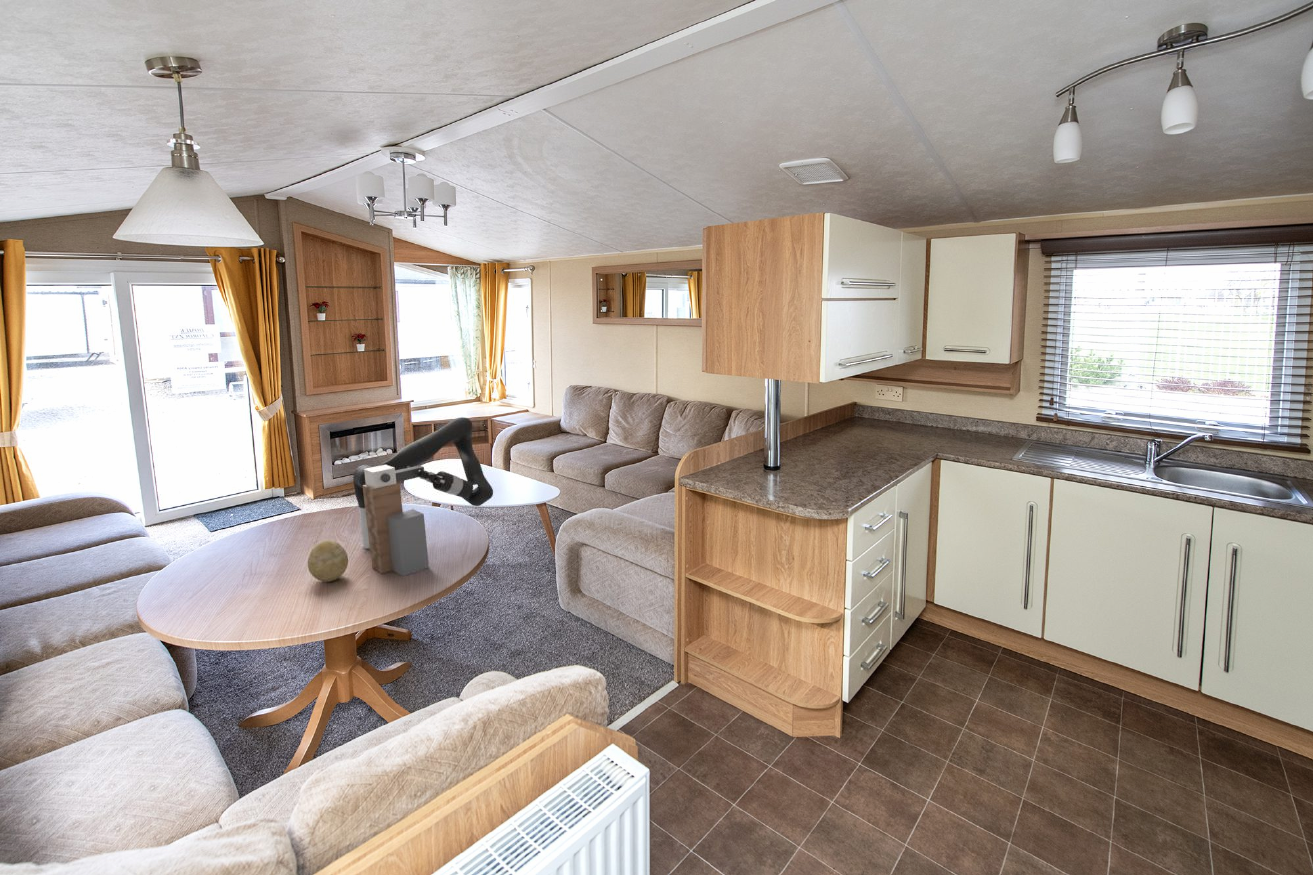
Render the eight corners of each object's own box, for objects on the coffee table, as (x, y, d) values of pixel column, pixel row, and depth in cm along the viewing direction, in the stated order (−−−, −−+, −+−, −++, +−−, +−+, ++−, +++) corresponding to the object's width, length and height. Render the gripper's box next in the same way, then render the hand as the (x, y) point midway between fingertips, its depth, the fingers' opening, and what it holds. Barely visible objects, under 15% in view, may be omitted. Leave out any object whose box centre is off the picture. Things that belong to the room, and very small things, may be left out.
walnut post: (372, 567, 234) (362, 485, 227) (398, 559, 241) (389, 479, 235) (382, 573, 229) (372, 489, 222) (408, 565, 236) (399, 483, 229)
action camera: (365, 484, 228) (363, 468, 227) (417, 473, 243) (415, 458, 241) (376, 489, 222) (374, 473, 221) (428, 477, 237) (427, 461, 236)
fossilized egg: (357, 576, 227) (352, 537, 223) (324, 590, 216) (318, 550, 213) (336, 569, 233) (331, 531, 230) (302, 582, 222) (297, 543, 219)
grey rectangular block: (392, 570, 232) (386, 516, 227) (418, 561, 239) (412, 509, 235) (403, 576, 227) (397, 521, 222) (428, 567, 234) (423, 513, 229)
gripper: (442, 471, 254) (407, 458, 242) (461, 477, 245) (426, 464, 233) (435, 488, 253) (399, 476, 241) (454, 495, 243) (418, 483, 231)
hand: (412, 470), depth 237 cm, fingers open, 8 cm apart
